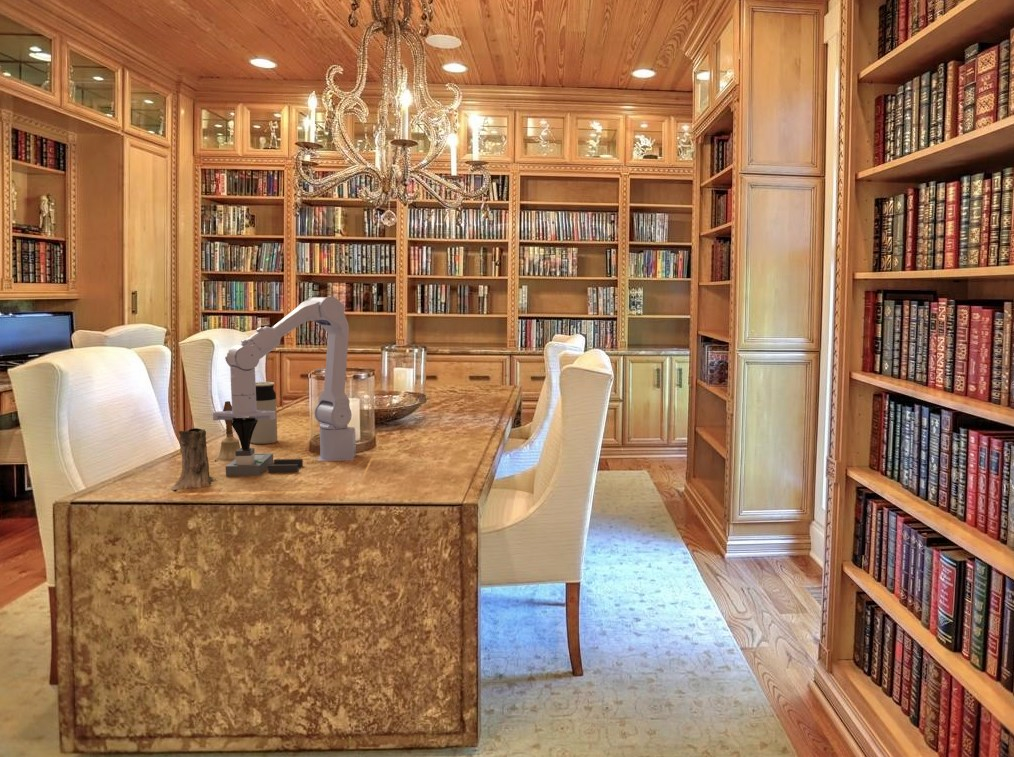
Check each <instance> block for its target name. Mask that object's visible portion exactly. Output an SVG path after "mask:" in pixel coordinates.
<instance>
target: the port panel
mask: <svg viewBox="0 0 1014 757" xmlns="http://www.w3.org/2000/svg"><path fill="white" fill-rule="evenodd" d="M254 456H255V465H236V459H234V460H231V462H229V463H227V465H225V476H226V477H250V476H251V477H252V476H255V477H258V476H261V475H262V474H263V473H264V472H265V471H266V470H268V465H273V464H274V453H273V452H271V453H270V452H269V453H268V452H267V453H265V452H263V453H260V452H259V453H254Z"/></svg>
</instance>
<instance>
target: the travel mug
mask: <svg viewBox="0 0 1014 757" xmlns="http://www.w3.org/2000/svg"><path fill="white" fill-rule="evenodd" d="M274 386H275V382H272V381H256V407H257V410H260V411H275V415H276V418H275V419H274V420H270V419H259V420H258V422H257V424H256V426H255V428H254V431H253V434H252V437H251V442H250V444H254V445H268V444H274V443H275V442H277V441H278V423H277V422H278V419H277V418H278V415H277V393H276V391H275V389H274Z"/></svg>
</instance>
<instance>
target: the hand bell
mask: <svg viewBox="0 0 1014 757" xmlns="http://www.w3.org/2000/svg"><path fill="white" fill-rule="evenodd" d="M222 411H232V402H231V401H229V400H228V401H224V405H223V409H222ZM232 421H233V420H224V423H225V434H226V436H225V438H223V439H222V440H221V442H220V443H221V444H220V449H219V452H218V454H217V455H216V456H215V458H214V461H215V460H216V461H217V462H218V461H233V460H234V459H236V450H238V449H239V448H241V444H240V440H239V438H236V437H234V431H233V430H234V429H233V426H232V424H231V423H232ZM216 461H215V462H216Z"/></svg>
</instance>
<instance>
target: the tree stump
mask: <svg viewBox="0 0 1014 757" xmlns="http://www.w3.org/2000/svg"><path fill="white" fill-rule="evenodd" d="M178 434H179V447H180V448H179V452H180V454H181V462H182V463H181V474H180V476H179V478H178V480H177V481H176V482H175V484H174V485H172V487H171V490H172V491H175V490H176V491H178V490H181V489H199V488H204V487H210V486H211V484H212V482H218V480H217V478H215V477H214V476H213V477H212V476H210V466H209V463H210V462H209V458H208V451H207V450H208V449H207V430H206V429H202V428H197V427H196V428H195V427H194V428H191V429H189V430H179V431H178Z"/></svg>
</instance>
